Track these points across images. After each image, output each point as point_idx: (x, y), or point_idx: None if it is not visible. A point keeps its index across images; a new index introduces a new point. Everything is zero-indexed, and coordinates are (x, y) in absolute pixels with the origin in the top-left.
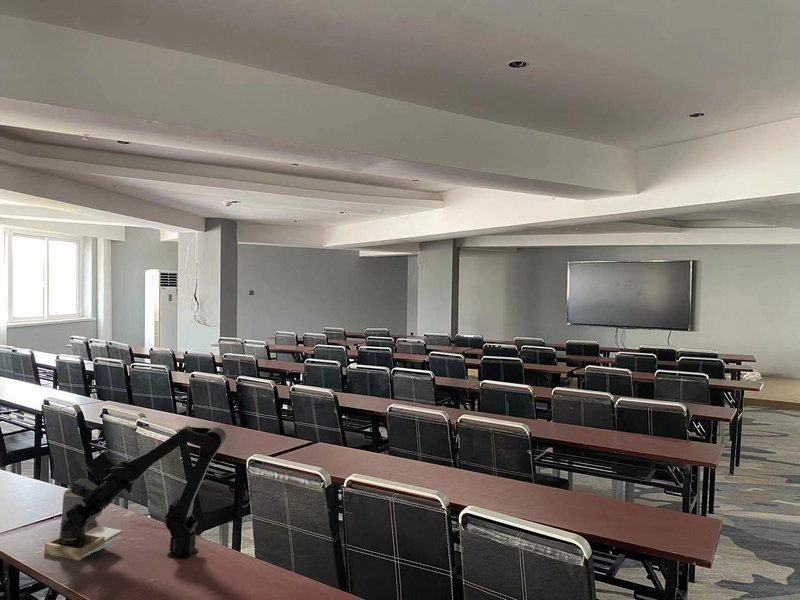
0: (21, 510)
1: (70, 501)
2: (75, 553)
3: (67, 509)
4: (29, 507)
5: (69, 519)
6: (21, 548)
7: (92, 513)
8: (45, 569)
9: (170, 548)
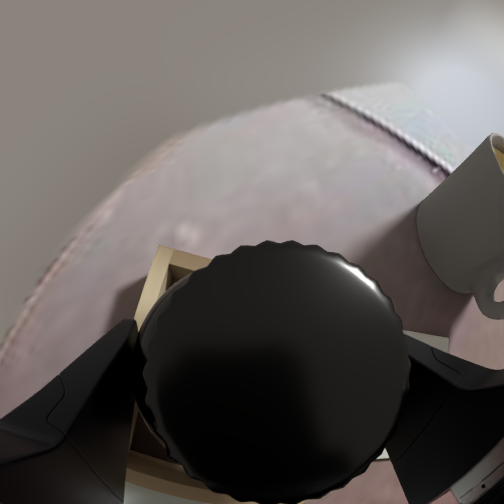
0: (418, 101)
1: (483, 177)
2: None
3: (276, 248)
4: (435, 111)
5: (21, 414)
6: (212, 161)
7: (403, 462)
8: (28, 343)
9: None
